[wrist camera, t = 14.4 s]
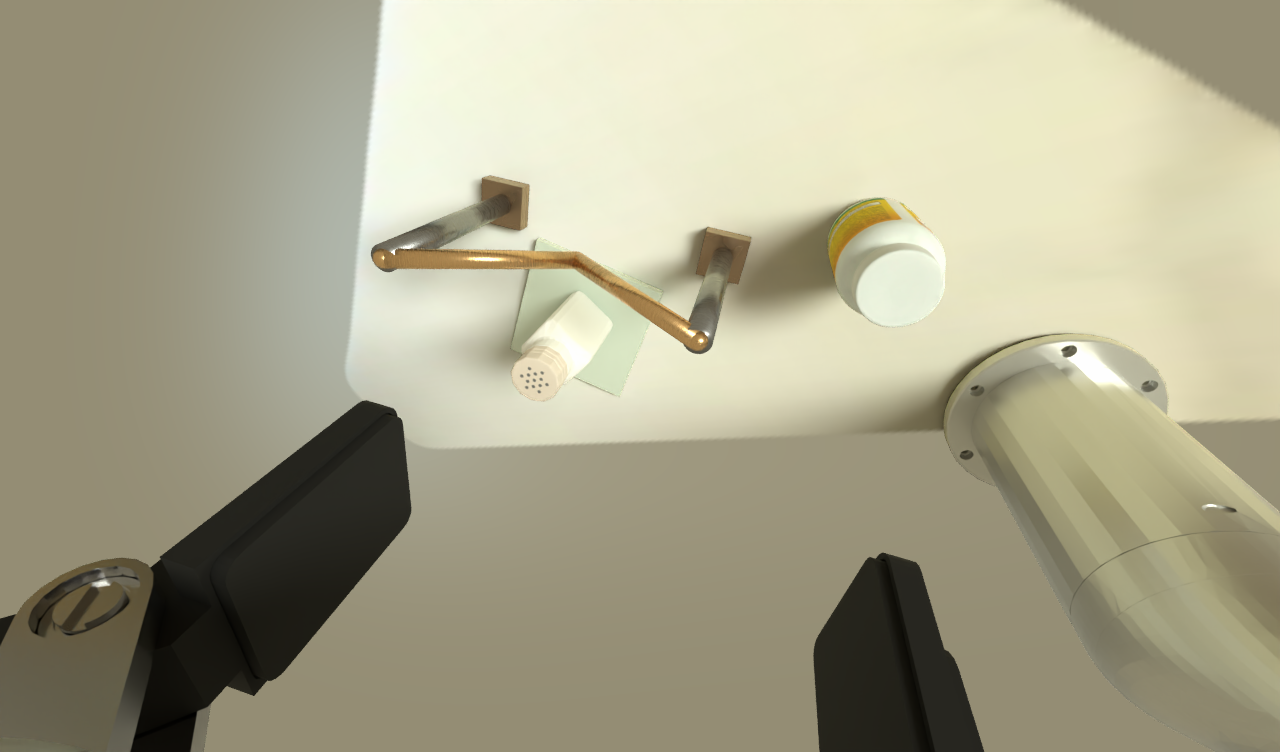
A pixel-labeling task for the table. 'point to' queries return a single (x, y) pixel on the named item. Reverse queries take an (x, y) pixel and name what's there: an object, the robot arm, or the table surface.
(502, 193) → the wire hurdle
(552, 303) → the mat
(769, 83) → the table surface
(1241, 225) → the table surface
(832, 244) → the supplement bottle
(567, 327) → the salt shaker
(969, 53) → the table surface
